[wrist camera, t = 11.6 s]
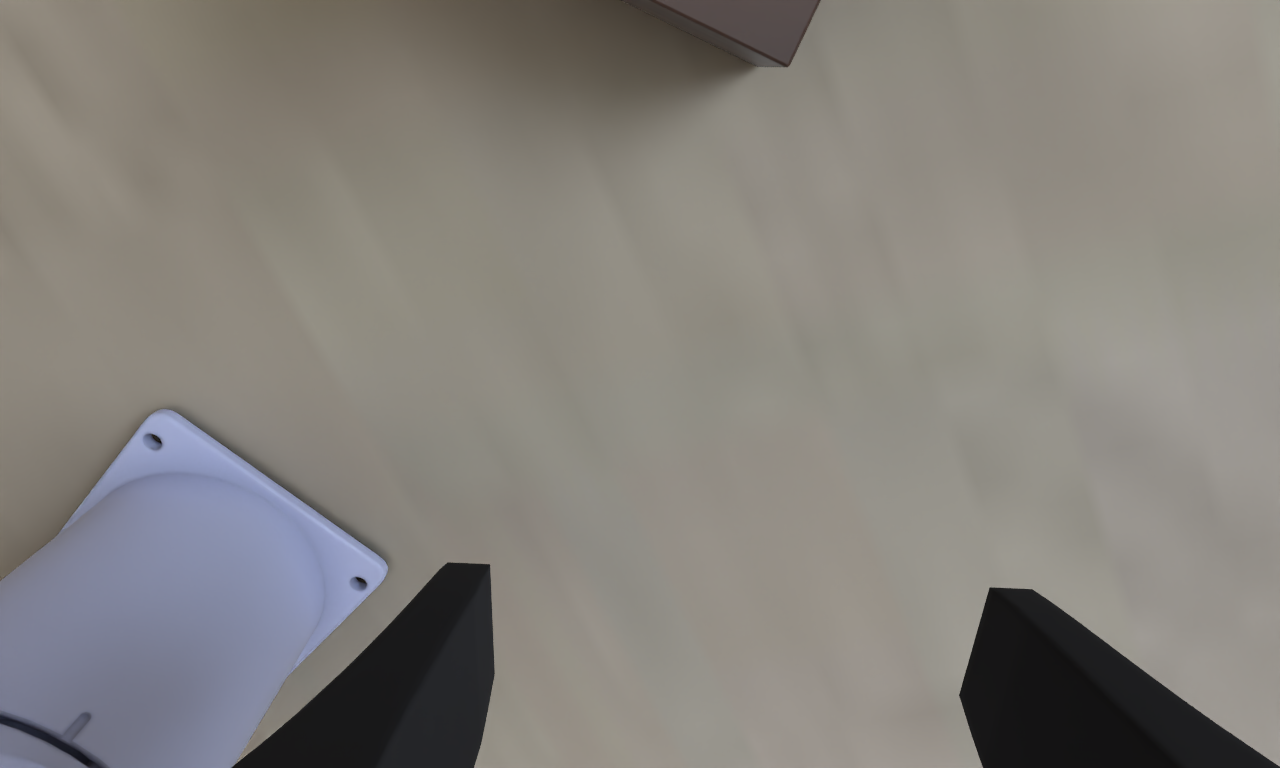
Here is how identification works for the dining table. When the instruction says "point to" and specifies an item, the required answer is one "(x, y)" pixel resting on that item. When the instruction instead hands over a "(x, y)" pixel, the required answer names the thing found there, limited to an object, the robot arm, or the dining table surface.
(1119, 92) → the dining table surface
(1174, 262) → the dining table surface
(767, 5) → the block
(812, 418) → the dining table surface
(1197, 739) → the robot arm
